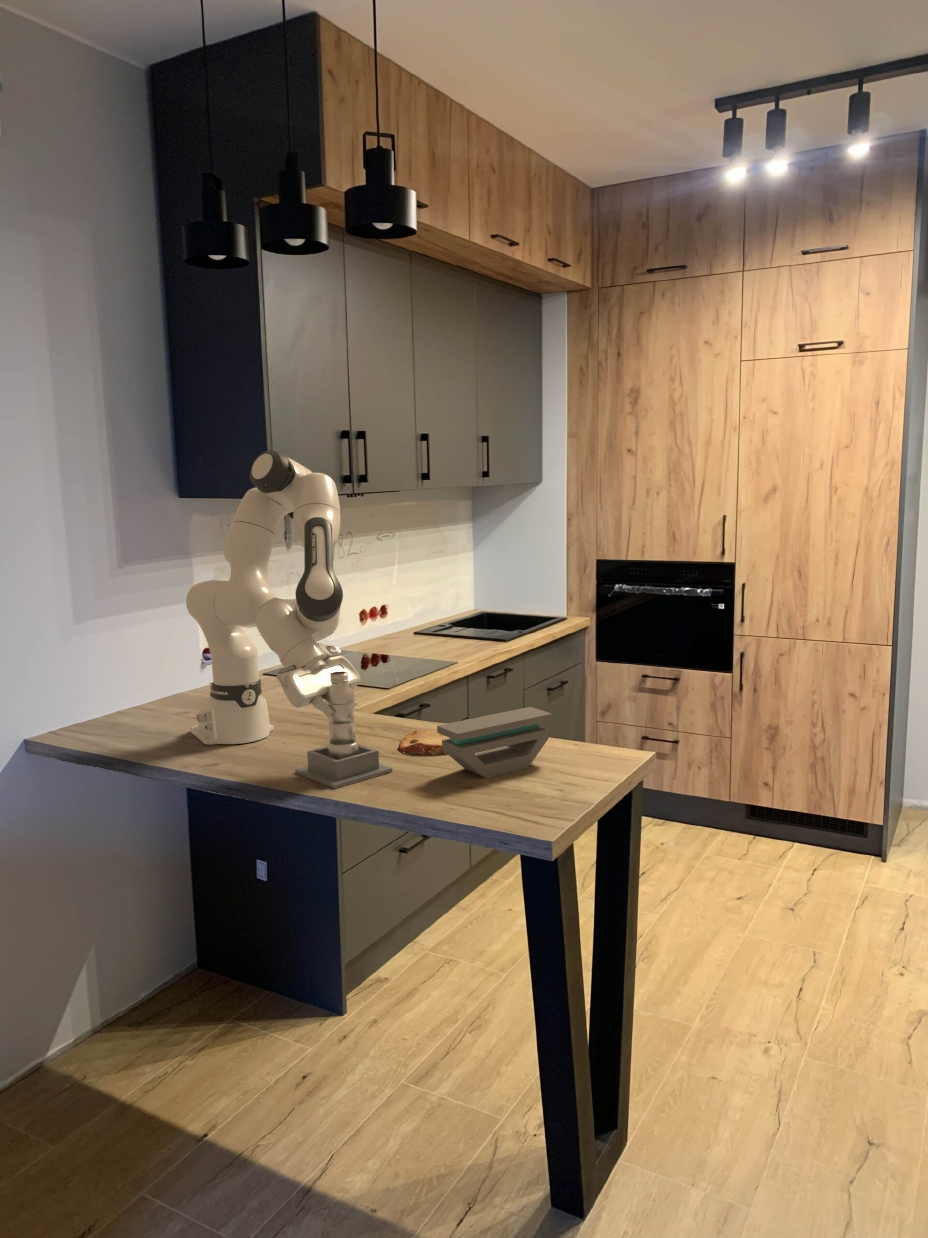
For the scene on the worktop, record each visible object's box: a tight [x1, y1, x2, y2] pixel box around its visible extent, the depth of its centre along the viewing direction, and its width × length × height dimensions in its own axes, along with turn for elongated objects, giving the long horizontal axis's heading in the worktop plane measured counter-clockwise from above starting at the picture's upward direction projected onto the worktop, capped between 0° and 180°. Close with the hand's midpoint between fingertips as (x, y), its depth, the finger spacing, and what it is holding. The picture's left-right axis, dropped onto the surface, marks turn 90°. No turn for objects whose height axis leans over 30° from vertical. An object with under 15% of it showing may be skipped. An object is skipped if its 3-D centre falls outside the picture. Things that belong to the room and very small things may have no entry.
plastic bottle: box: [324, 671, 359, 760], centre depth 201 cm, size 6×7×20 cm
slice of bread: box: [397, 729, 449, 755], centre depth 220 cm, size 18×18×4 cm
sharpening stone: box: [436, 706, 553, 779], centre depth 202 cm, size 25×8×11 cm, turn 124°
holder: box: [295, 743, 393, 790], centre depth 202 cm, size 15×15×5 cm
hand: (343, 710), depth 200 cm, fingers closed on plastic bottle, 6 cm apart
